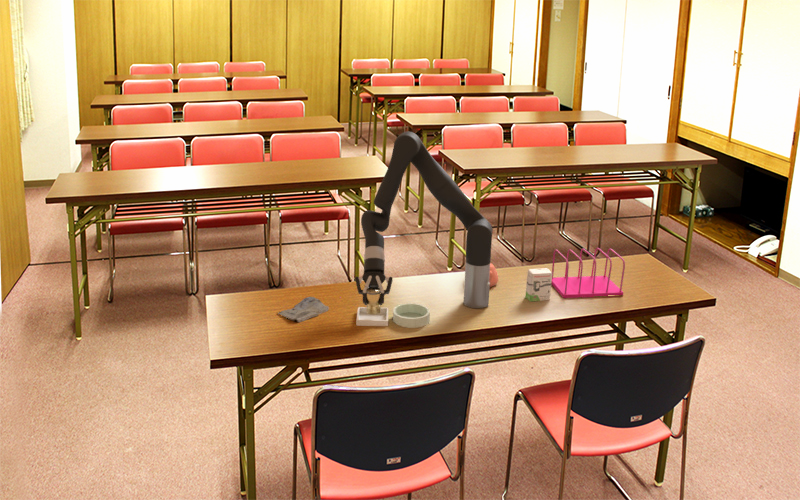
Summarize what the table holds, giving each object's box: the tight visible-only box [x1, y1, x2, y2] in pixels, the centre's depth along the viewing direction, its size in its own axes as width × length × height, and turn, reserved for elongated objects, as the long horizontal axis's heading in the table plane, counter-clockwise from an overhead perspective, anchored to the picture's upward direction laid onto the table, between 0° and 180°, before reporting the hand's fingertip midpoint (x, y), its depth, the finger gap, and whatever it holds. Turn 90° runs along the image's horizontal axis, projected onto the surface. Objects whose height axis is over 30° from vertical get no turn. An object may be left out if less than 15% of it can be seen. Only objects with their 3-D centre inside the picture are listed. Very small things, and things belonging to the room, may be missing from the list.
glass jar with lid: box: [366, 287, 381, 314], centre depth 256 cm, size 5×5×8 cm
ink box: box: [524, 267, 552, 302], centre depth 278 cm, size 9×5×12 cm, turn 102°
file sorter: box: [551, 247, 626, 299], centre depth 288 cm, size 17×25×16 cm
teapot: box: [489, 262, 499, 288], centre depth 293 cm, size 12×18×10 cm
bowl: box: [392, 302, 431, 329], centre depth 258 cm, size 13×13×4 cm
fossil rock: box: [277, 296, 330, 323], centre depth 265 cm, size 18×15×2 cm
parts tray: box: [355, 306, 389, 327], centre depth 259 cm, size 11×11×2 cm
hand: (373, 304), depth 255 cm, fingers closed on glass jar with lid, 5 cm apart
